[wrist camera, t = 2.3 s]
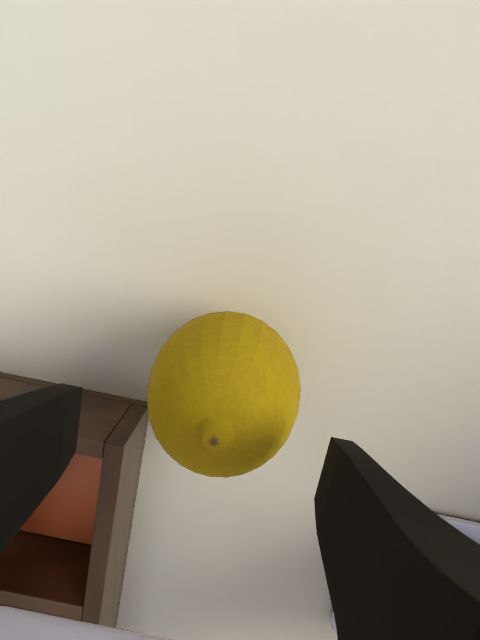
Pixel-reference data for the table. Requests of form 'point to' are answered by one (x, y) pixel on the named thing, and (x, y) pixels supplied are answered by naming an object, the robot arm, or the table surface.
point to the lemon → (223, 394)
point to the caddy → (80, 516)
